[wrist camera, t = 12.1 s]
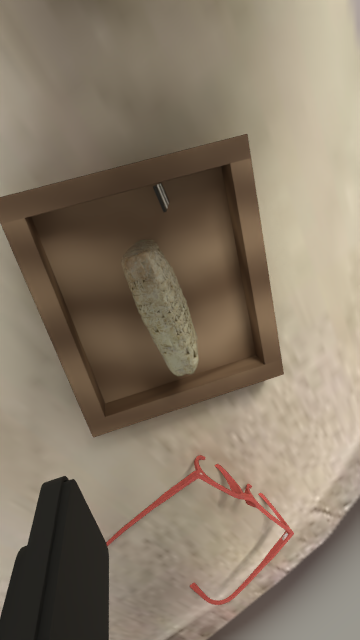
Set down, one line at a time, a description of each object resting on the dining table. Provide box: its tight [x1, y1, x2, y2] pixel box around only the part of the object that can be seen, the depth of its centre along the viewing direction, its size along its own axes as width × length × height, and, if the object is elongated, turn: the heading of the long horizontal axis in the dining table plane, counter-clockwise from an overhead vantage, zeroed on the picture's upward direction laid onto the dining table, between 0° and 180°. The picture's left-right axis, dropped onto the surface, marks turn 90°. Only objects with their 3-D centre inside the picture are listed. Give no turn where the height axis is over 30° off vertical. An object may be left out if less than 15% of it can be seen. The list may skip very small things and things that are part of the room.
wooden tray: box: [0, 134, 284, 437], centre depth 27 cm, size 19×17×3 cm
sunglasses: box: [106, 455, 294, 605], centre depth 35 cm, size 17×16×5 cm
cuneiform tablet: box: [121, 183, 199, 376], centre depth 24 cm, size 7×4×12 cm
